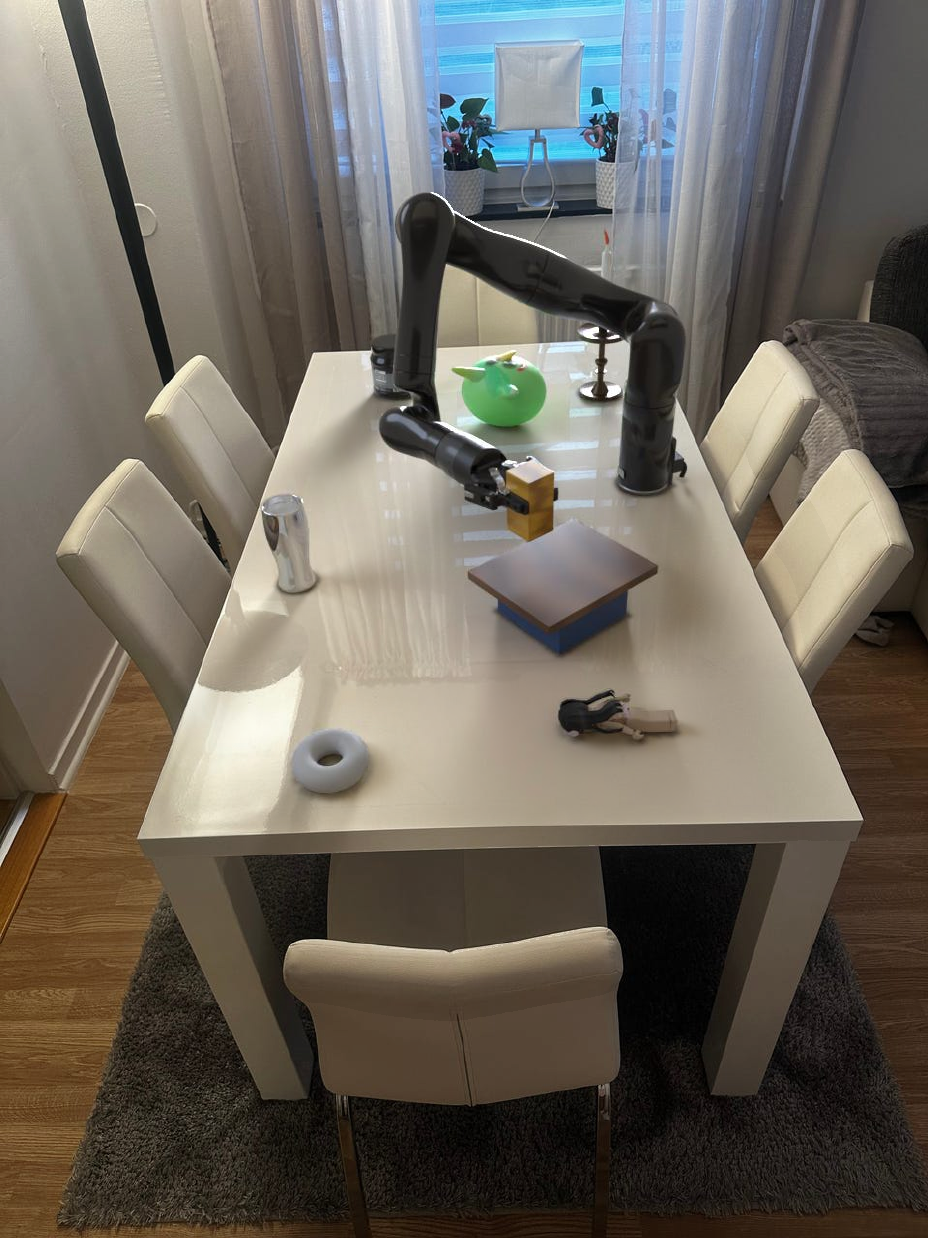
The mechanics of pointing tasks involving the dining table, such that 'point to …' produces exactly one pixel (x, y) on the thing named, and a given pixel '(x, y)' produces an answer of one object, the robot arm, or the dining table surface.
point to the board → (562, 575)
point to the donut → (335, 775)
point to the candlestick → (600, 347)
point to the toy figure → (612, 717)
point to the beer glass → (289, 540)
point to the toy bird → (503, 389)
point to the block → (531, 500)
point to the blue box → (573, 624)
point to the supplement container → (384, 367)
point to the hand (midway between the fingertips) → (542, 502)
